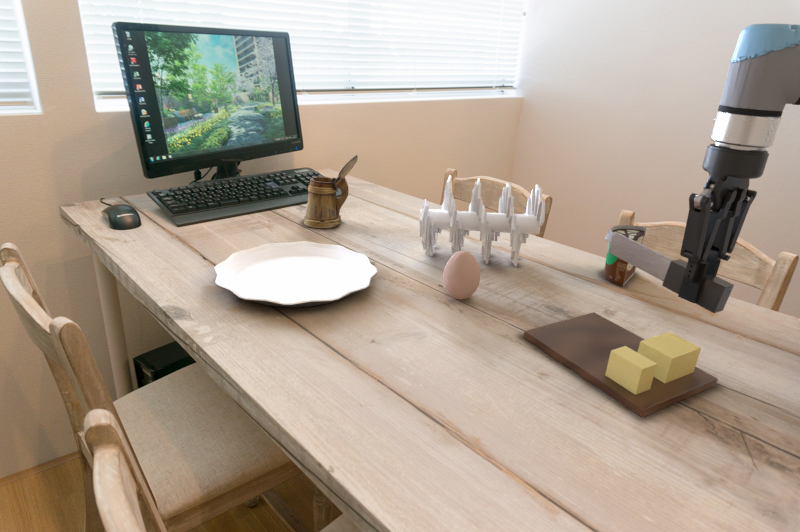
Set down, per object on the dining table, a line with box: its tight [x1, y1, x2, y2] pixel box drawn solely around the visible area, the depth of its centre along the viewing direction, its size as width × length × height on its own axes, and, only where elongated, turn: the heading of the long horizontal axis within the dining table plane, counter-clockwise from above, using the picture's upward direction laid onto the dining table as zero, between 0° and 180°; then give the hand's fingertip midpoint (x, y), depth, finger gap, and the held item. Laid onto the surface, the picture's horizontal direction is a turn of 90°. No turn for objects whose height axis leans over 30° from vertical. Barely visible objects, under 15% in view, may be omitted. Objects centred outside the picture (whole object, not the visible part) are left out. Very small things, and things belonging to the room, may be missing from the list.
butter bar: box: [637, 331, 702, 383], centre depth 75 cm, size 5×6×4 cm
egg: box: [442, 250, 481, 300], centre depth 95 cm, size 7×7×9 cm
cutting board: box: [523, 311, 718, 418], centre depth 79 cm, size 22×16×1 cm
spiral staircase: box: [419, 175, 546, 267], centre depth 112 cm, size 18×18×25 cm
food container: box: [603, 224, 647, 287], centre depth 109 cm, size 12×6×10 cm, turn 144°
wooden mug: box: [303, 154, 359, 229], centre depth 129 cm, size 9×14×18 cm, turn 73°
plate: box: [213, 240, 378, 308], centre depth 100 cm, size 29×29×2 cm
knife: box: [608, 232, 735, 314], centre depth 86 cm, size 21×2×4 cm, turn 30°
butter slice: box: [605, 346, 657, 395], centre depth 71 cm, size 5×3×4 cm, turn 30°
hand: (693, 297), depth 83 cm, fingers closed on knife, 2 cm apart
